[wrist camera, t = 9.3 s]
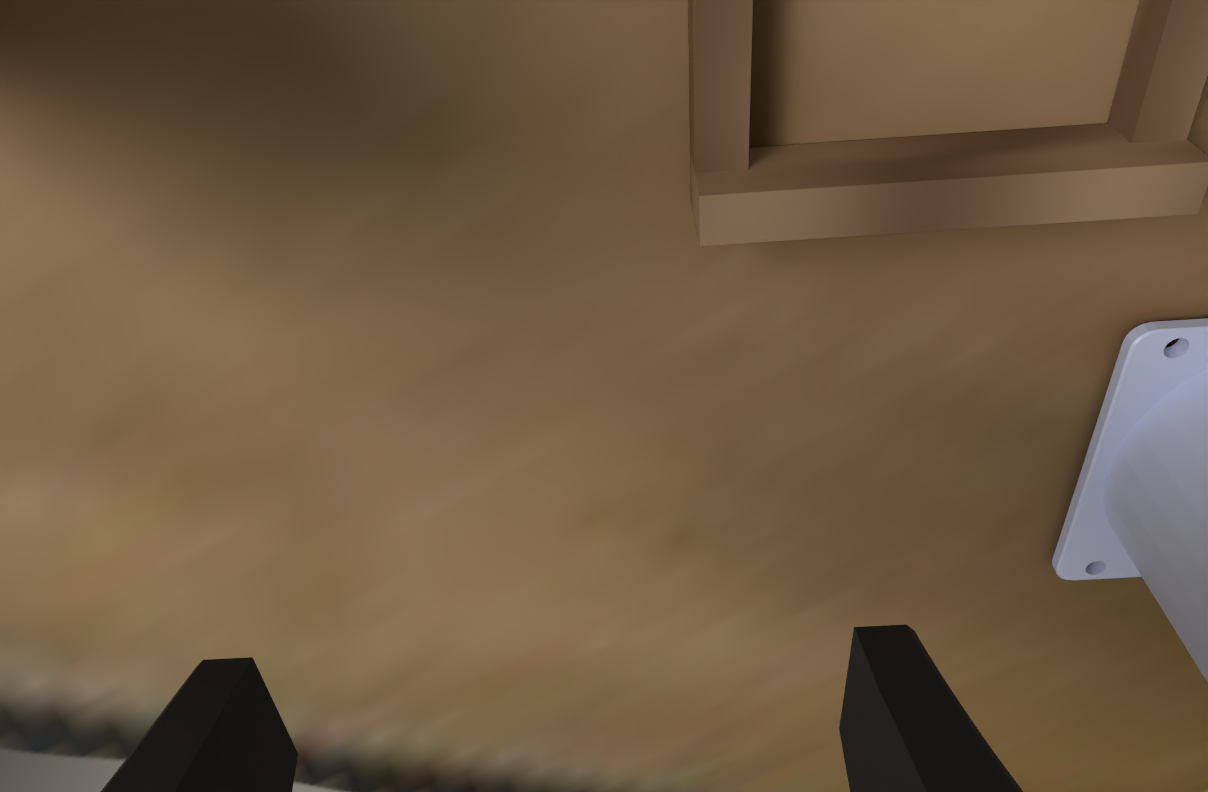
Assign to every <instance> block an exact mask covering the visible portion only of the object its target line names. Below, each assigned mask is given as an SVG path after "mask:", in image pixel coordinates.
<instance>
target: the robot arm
mask: <svg viewBox="0 0 1208 792" xmlns="http://www.w3.org/2000/svg"><path fill="white" fill-rule="evenodd" d="M1178 338H1179V340H1178V341H1177V342H1176V343H1175V344H1174V345H1172V346H1171V347H1167V348H1165V347H1166V345H1167V344H1168V343H1169V342H1171V341H1172V340H1175V339H1178ZM1052 565H1053V567H1054V569H1055V571H1056V573H1057V575H1058V576H1059V577H1060V578H1062V579H1064V580H1088V579H1108V578H1127V577H1142V578H1143V580H1144V581H1145V583H1146V584H1147V586H1148V588H1149V589H1150V591H1151V592H1152V594H1153V596H1154V597H1155V599H1156V600H1157V602H1158V604H1159V605H1160V607H1161V609H1162V610H1163V612H1164V613H1165V615H1166V617H1167V618H1168V620H1169V621H1170V623H1171V625H1172V626H1173V628H1174V629H1175V631H1176V633H1177V634H1178V636H1179V638H1180V639H1181V641H1182V642H1183V644H1184V646H1185V647H1186V649H1187V650H1188V652H1189V654H1190V655H1191V657H1192V658H1193V660H1194V662H1195V663H1196V665H1197V666H1198V668H1199V670H1200V671H1201V673H1202V675H1203V676H1204V678H1205V679H1206V681H1207V683H1208V318H1206V319H1189V320H1173V321H1156V322H1149V323H1144V324H1141V325H1139V326H1137V327H1136V328H1134V329H1133V330H1132V331H1130V332H1129V333H1128V334H1127V335H1126V337H1125V339H1124V341H1123V343H1122V346H1121V349H1120V352H1119V355H1118V358H1117V361H1116V364H1115V367H1114V371H1113V374H1112V377H1111V380H1110V383H1109V386H1108V389H1107V392H1106V395H1105V398H1104V402H1103V405H1102V408H1101V411H1100V414H1099V417H1098V420H1097V423H1096V426H1095V429H1094V432H1093V436H1092V439H1091V442H1090V445H1089V448H1088V451H1087V454H1086V457H1085V460H1084V463H1083V466H1082V470H1081V473H1080V476H1079V479H1078V482H1077V485H1076V488H1075V491H1074V494H1073V497H1072V500H1071V504H1070V507H1069V510H1068V513H1067V516H1066V519H1065V522H1064V525H1063V528H1062V531H1061V534H1060V538H1059V541H1058V544H1057V547H1056V550H1055V553H1054V556H1053V559H1052ZM839 730H840V736H841V741H842V747H843V753H844V759H845V764H846V770H847V776H848V781H849V787H850V792H1023V791H1022V790H1021V788H1020V787H1019V786H1018V784H1017V783H1016V782H1015V780H1014V779H1013V777H1012V776H1011V775H1010V773H1009V772H1008V771H1007V769H1006V768H1005V767H1004V765H1003V764H1002V763H1001V761H1000V760H999V759H998V757H997V756H996V754H995V753H994V752H993V750H992V749H991V747H990V746H989V745H988V743H987V742H986V740H985V739H984V738H983V736H982V735H981V733H980V732H979V730H978V729H977V727H976V726H975V725H974V723H973V722H972V720H971V719H970V717H969V716H968V714H967V713H966V711H965V710H964V708H963V707H962V706H961V704H960V703H959V701H958V700H957V698H956V697H955V695H954V693H953V692H952V690H951V689H950V687H949V686H948V684H947V683H946V681H945V680H944V678H943V677H942V675H941V674H940V672H939V670H938V669H937V667H936V666H935V664H934V662H933V661H932V659H931V658H930V656H929V654H928V653H927V651H926V650H925V648H924V646H923V645H922V643H921V641H920V640H919V638H918V636H917V634H916V633H915V631H914V630H913V629H911V628H910V627H909V626H907V625H890V626H870V627H854V632H853V638H852V645H851V652H850V659H849V666H848V673H847V679H846V686H845V693H844V700H843V707H842V714H841V720H840V727H839ZM297 756H298V753H297V751H296V749H295V746H294V744H293V742H292V740H291V738H290V736H289V734H288V732H287V730H286V727H285V725H284V723H283V721H282V719H281V717H280V715H279V713H278V710H277V708H276V706H275V704H274V702H273V700H272V698H271V696H270V694H269V691H268V689H267V687H266V685H265V683H264V681H263V679H262V677H261V674H260V672H259V670H258V668H257V666H256V664H255V662H254V660H253V658H232V659H213V660H203V661H202V662H201V663H200V664H199V665H198V666H197V667H196V668H195V670H194V671H193V672H192V674H191V675H190V676H189V677H188V679H187V680H186V681H185V683H184V684H183V685H182V687H181V688H180V689H179V690H178V692H177V693H176V694H175V696H174V697H173V698H172V700H171V701H170V702H169V704H168V705H167V706H166V708H165V709H164V710H163V712H162V713H161V714H160V716H159V717H158V718H157V720H156V721H155V722H154V724H153V725H152V726H151V727H150V729H149V730H148V731H147V733H146V734H145V735H144V737H143V738H142V739H141V741H140V742H139V743H138V745H137V746H136V747H135V748H134V750H133V751H132V752H131V754H130V755H129V756H128V758H127V759H126V760H125V761H124V763H123V764H122V766H121V767H120V768H119V769H118V771H117V772H116V773H115V774H114V776H113V777H112V778H111V780H110V781H109V782H108V783H107V785H106V786H105V787H104V788H103V790H102V791H101V792H292V787H293V781H294V775H295V769H296V763H297Z"/></svg>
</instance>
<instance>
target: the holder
mask: <svg viewBox="0 0 1208 792" xmlns="http://www.w3.org/2000/svg"><path fill="white" fill-rule="evenodd" d="M752 16H753V0H688V30H689V109H690V188H691V204H692V209H693V214H694V219H695V225H696V230H697V235H698V240H699V245H700V246H711V245H726V244H742V243H757V242H773V241H788V240H804V239H819V238H834V237H850V236H865V235H881V234H896V233H912V232H927V231H943V230H958V229H974V228H989V227H1005V226H1020V225H1036V224H1051V223H1066V222H1082V221H1097V220H1113V219H1128V218H1144V217H1159V216H1175V215H1190V214H1198V212H1199V210H1200V207H1201V204H1202V201H1203V198H1204V195H1205V192H1206V189H1207V187H1208V155H1207V154H1205V153H1204V152H1203V151H1201V150H1200V149H1199V148H1197V147H1196V146H1195V145H1193V144H1192V143H1191V142H1189V141H1188V140H1187V138H1188V135H1189V132H1190V129H1191V125H1192V122H1193V119H1194V116H1195V113H1196V110H1197V107H1198V104H1199V101H1200V98H1201V94H1202V91H1203V88H1204V85H1205V82H1206V79H1207V76H1208V0H1140V2H1139V6H1138V10H1137V13H1136V17H1135V21H1134V25H1133V28H1132V32H1131V36H1130V40H1129V43H1128V47H1127V51H1126V55H1125V58H1124V62H1123V66H1122V70H1121V74H1120V77H1119V81H1118V85H1117V89H1116V92H1115V96H1114V100H1113V104H1112V107H1111V111H1110V115H1109V119H1108V122H1107V123H1104V124H1090V125H1075V126H1060V127H1046V128H1031V129H1016V130H1002V131H987V132H972V133H958V134H943V135H928V136H914V137H899V138H884V139H870V140H855V141H840V142H826V143H811V144H796V145H782V146H767V147H752V148H749V126H750V89H751V52H752Z"/></svg>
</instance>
